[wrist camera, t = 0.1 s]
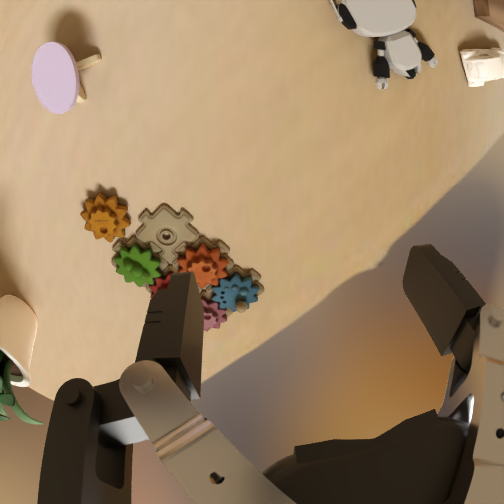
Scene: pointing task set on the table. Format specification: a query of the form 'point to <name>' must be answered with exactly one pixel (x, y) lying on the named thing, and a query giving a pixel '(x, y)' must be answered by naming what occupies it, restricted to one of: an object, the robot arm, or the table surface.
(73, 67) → the toy table
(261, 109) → the table surface
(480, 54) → the car
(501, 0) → the base brick
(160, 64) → the table surface
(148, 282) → the gear puzzle
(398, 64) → the robot toy
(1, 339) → the potted plant
